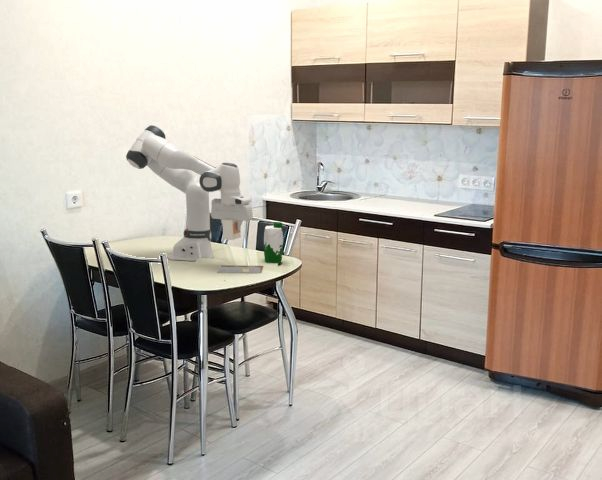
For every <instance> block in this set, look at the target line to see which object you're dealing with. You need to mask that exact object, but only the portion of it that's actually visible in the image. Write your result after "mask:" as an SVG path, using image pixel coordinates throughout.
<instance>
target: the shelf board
mask: <svg viewBox="0 0 602 480" xmlns="http://www.w3.org/2000/svg"><path fill="white" fill-rule="evenodd" d="M219 267H260V273H259V274H262V272H263V270H264V265H231V264H230V265H225V264H222V265H220V266H219ZM216 273H217V274H219V273H218V270H217V272H216Z"/></svg>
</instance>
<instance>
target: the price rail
mask: <svg viewBox="0 0 602 480" xmlns="http://www.w3.org/2000/svg"><path fill="white" fill-rule="evenodd" d="M217 271H218V273H217V274H261V273H260V267H220V266H217Z"/></svg>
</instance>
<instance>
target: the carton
mask: <svg viewBox="0 0 602 480" xmlns="http://www.w3.org/2000/svg"><path fill="white" fill-rule="evenodd" d="M222 222H223V224H222V236H223V237H222V239H223V240H226V241H227V240H228V241H234V240H237V239H239V238H241V237H242V232H241V229H240V230H236V226H238V220H231V219H223V220H222Z"/></svg>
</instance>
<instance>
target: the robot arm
mask: <svg viewBox="0 0 602 480" xmlns="http://www.w3.org/2000/svg"><path fill="white" fill-rule="evenodd" d="M125 157H126V161H127V162H128V163H129V165H131V166H132V167H133V168H136V169H138V170H141V169H144V168H146V167H147V168H149V169H150V170H151V171H152V173H154V174H155V175H157V176H158V177H160V178H161V179H162V180H163V181H165V182H166V183H168V184H169V185H170V186H171V187H173V188H175V189H177V190H179V191H180V192H182V193H183V194H185V202H186V203H185V204H186V215H187V216H186V217H187V221H186V222H187V223H186V224H187V228H185V229H183V237H182V238H180V239H179V240H178V241H177V242H176V243H175V244H173V247H172V252H171V253H169V254H168V257H167V258H168V260H172V261H173V260H174V261H188V262H189V261H190V262H191V261H192V262H196V261H197V260H199V259H212V258H214V257H215V255H214V252H213V249H212V243H211V241H212V230H211V221H210V220H211V219H212V220H213V219H214V220H215V219H216V220H220V223H221V225H223V222H222V220H223V219H231V220H238V226H236V230H241V226H242V225H243V222H249V221H251V220H252V219H253V208H252V205H251V204H250V203H251V198H249V197H247V196H245V195H243V194H241V189H240V185H241V177H240V169H239V167H238V165H237V164H235V163H231V162H222V163H220V164H219V165H218V166H213V165H211V164H209V163H207V162H205V161H203V160H202V159H199V158H197V157H196V156H194V155H192V154H190V153H189V152H187V151H185V150H184V149H182V148H181V147H179V146H178V145H176V144H175V143H173V142H172V141H170V140H168V139H166V134H165V132H164V131H163V130H162V129H161V128H160V127H158V126H156V125H148V126H147V127H146V128H145V129H144V131H143V132H142V133H140V135H139V136H138V137H137V138H136V140H135V141H134V143H133V144H132V146H131V148H130V149H129V150H128V151H127V153H126V155H125ZM199 175H200V176H199ZM217 191H219V192H220V198H213V199H212V200H211V203H210V193H213V192H217ZM210 204H211V205H210ZM210 206H211V209H210ZM210 218H211V219H210Z"/></svg>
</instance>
